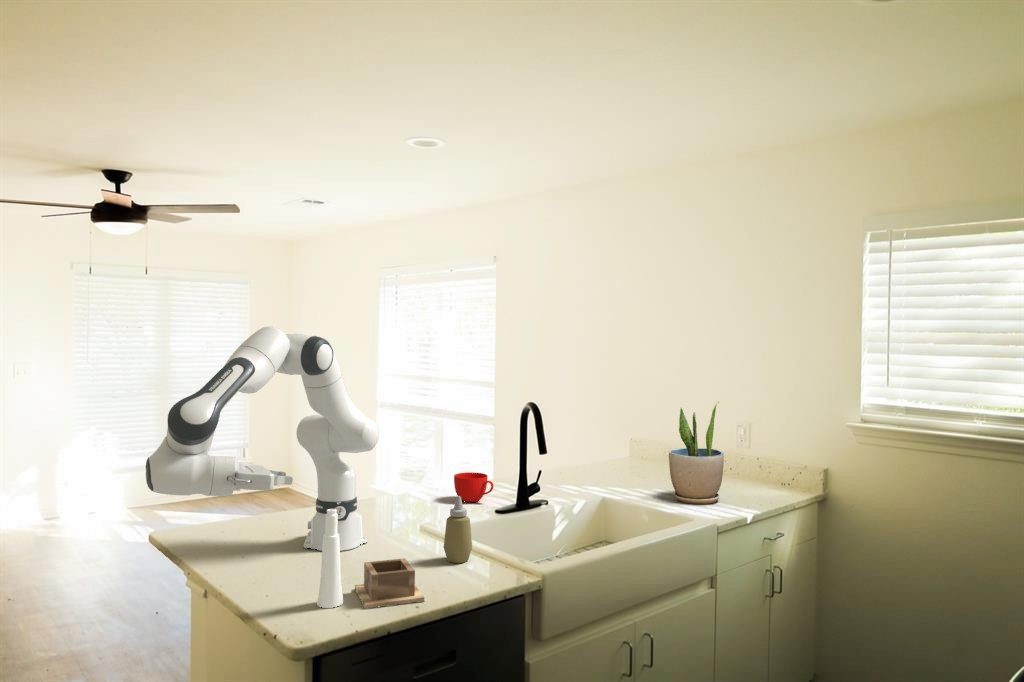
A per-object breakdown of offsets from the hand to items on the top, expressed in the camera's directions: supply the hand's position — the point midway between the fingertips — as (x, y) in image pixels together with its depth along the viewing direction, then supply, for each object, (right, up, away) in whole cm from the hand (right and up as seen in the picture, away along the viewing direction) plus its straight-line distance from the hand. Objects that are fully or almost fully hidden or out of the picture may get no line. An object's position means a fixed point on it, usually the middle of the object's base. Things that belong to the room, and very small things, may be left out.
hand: (288, 477), depth 168 cm
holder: (+22, -30, +6) cm, 38 cm away
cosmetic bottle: (+10, -30, 0) cm, 31 cm away
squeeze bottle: (+37, -30, +35) cm, 59 cm away
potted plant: (+125, -31, +117) cm, 174 cm away
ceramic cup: (+38, -30, +108) cm, 118 cm away
